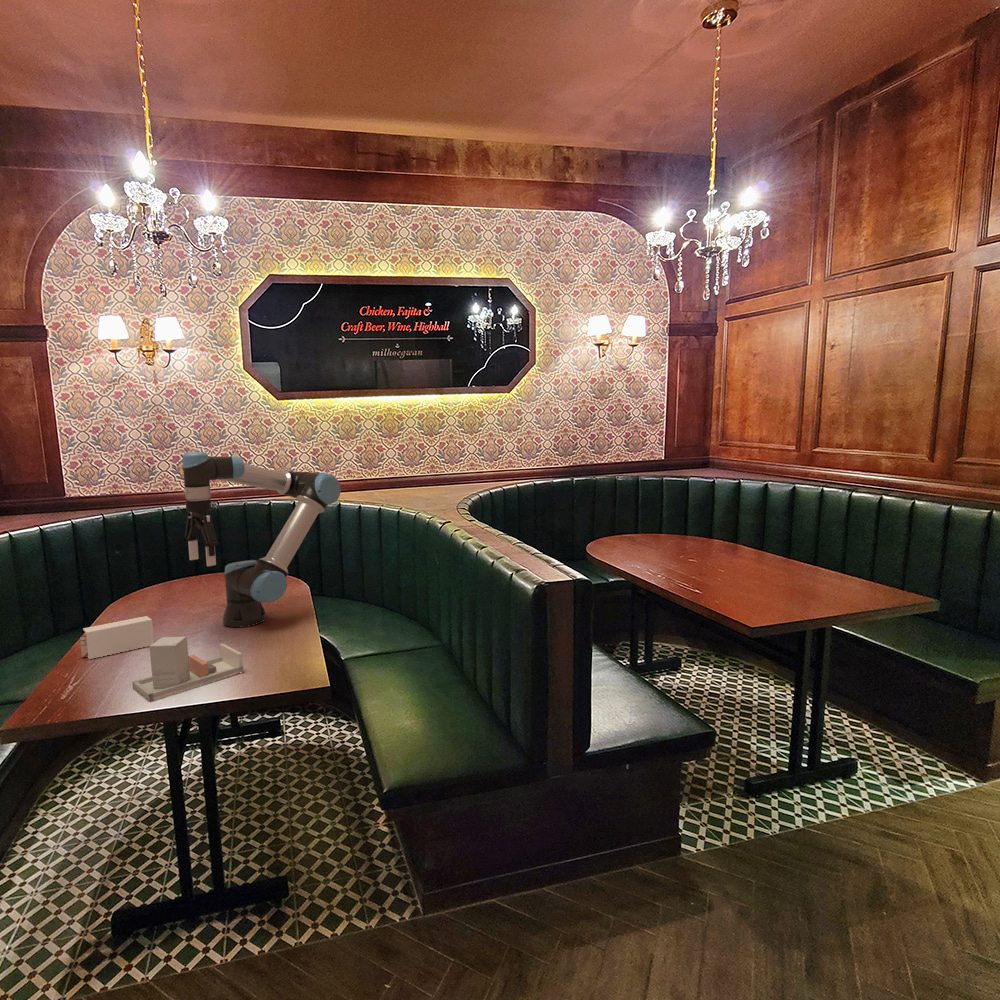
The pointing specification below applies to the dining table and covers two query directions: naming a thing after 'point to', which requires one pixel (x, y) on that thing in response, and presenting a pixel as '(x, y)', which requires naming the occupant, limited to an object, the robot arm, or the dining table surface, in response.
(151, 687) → the beige shallow tray
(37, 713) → the dining table surface
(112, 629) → the cigarette display
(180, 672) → the supplement box
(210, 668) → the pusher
